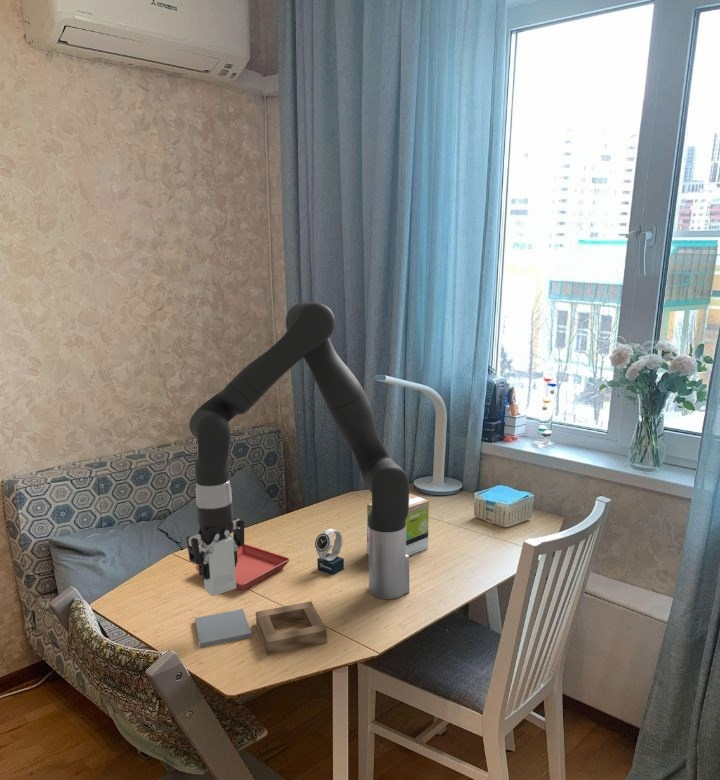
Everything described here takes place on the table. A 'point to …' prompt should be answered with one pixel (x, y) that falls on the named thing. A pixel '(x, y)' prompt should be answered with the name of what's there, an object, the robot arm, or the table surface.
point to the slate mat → (222, 628)
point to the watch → (327, 560)
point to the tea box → (413, 524)
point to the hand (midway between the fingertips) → (219, 572)
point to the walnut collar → (294, 638)
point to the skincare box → (221, 567)
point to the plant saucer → (255, 565)
